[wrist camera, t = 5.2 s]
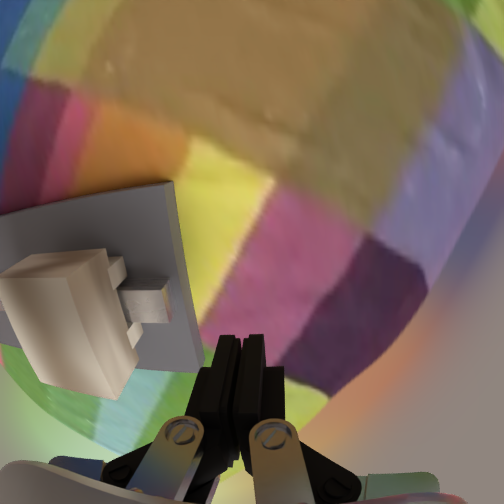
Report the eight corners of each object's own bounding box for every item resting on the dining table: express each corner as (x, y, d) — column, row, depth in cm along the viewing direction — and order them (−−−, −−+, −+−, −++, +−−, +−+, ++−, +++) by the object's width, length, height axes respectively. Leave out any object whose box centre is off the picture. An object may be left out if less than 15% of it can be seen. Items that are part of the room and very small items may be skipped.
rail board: (173, 181, 15) (114, 205, 9) (205, 358, 20) (183, 431, 13) (-44, 228, 18) (-87, 250, 12) (-9, 331, 22) (-42, 362, 16)
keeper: (119, 238, 15) (66, 277, 10) (147, 344, 17) (117, 400, 13) (45, 246, 15) (-7, 278, 11) (76, 338, 18) (40, 381, 13)
